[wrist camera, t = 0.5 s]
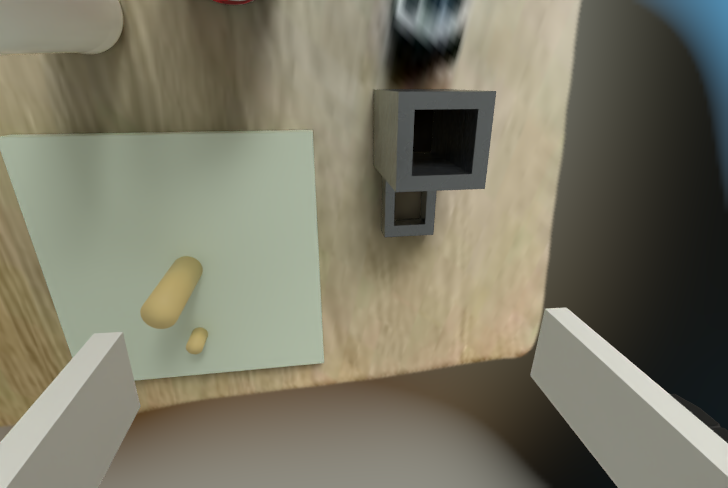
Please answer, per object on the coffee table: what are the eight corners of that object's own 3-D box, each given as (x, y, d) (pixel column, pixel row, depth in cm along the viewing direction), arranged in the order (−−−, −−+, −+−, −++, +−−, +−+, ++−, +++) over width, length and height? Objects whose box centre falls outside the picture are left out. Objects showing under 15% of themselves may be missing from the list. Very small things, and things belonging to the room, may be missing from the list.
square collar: (373, 89, 31) (398, 91, 23) (446, 89, 32) (496, 91, 24) (372, 231, 36) (393, 275, 27) (436, 228, 36) (475, 270, 28)
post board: (10, 134, 29) (-99, 153, 21) (312, 129, 32) (314, 144, 24) (90, 374, 37) (33, 451, 29) (323, 353, 40) (328, 418, 32)
